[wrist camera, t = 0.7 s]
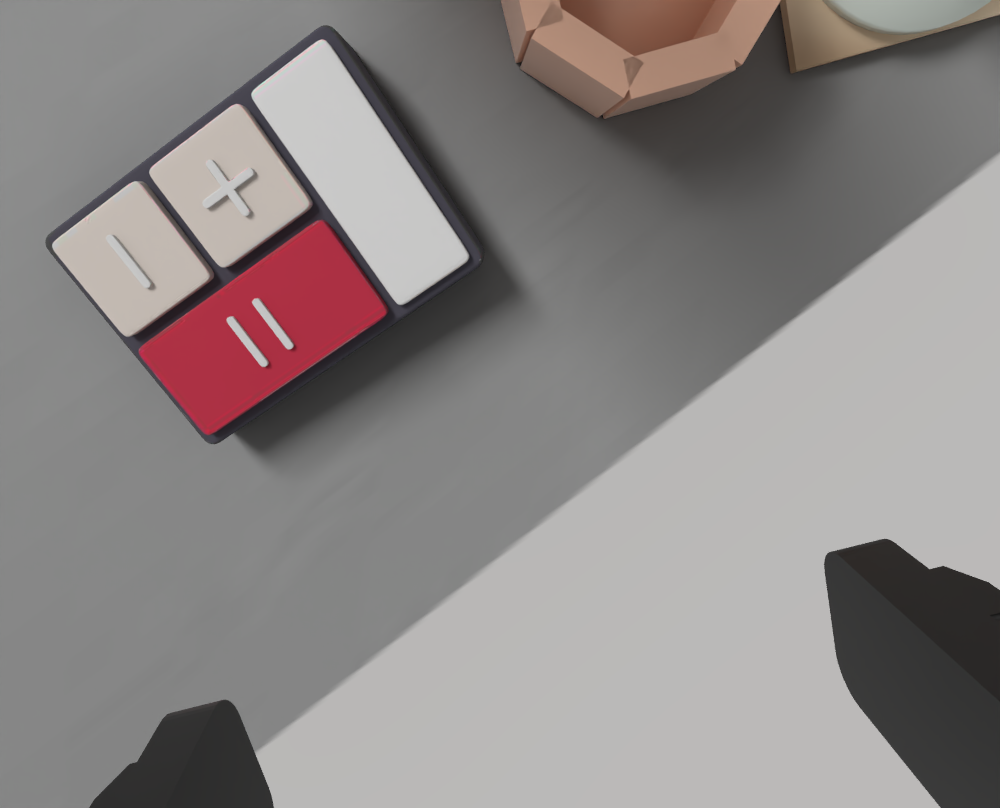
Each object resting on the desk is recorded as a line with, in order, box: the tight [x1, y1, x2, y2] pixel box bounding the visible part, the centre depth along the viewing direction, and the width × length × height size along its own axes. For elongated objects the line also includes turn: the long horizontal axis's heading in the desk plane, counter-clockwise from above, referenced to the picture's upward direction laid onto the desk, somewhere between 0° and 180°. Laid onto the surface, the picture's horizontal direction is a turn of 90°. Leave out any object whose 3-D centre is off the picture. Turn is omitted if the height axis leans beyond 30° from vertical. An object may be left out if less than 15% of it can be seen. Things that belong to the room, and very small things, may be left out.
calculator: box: [46, 25, 484, 444], centre depth 32 cm, size 11×4×15 cm
